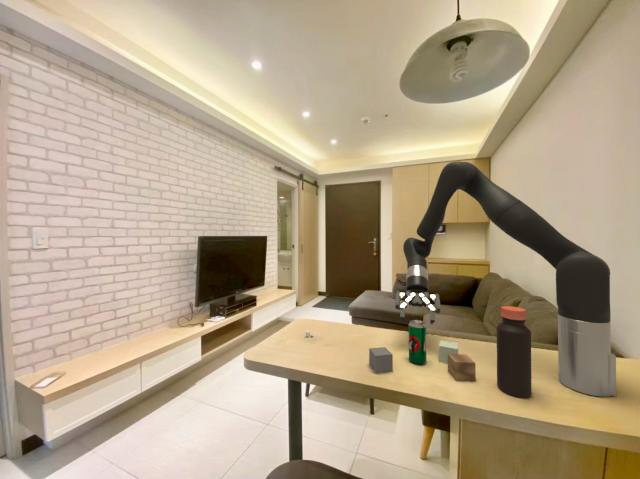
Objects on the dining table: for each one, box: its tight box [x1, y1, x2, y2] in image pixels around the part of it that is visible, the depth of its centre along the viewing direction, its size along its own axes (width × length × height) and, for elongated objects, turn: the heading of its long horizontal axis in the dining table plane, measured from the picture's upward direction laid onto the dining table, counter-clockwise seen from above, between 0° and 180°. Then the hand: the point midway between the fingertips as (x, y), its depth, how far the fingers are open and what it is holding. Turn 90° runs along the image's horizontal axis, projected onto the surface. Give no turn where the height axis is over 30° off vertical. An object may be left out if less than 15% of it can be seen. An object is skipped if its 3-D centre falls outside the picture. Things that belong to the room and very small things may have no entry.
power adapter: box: [304, 328, 314, 338], centre depth 99 cm, size 3×3×3 cm
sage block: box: [438, 339, 459, 365], centre depth 79 cm, size 5×5×5 cm
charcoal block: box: [368, 346, 394, 374], centre depth 74 cm, size 5×5×5 cm
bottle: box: [496, 305, 533, 399], centre depth 63 cm, size 7×7×20 cm
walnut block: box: [447, 353, 477, 383], centre depth 70 cm, size 5×5×5 cm
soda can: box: [408, 319, 427, 366], centre depth 78 cm, size 5×5×12 cm
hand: (417, 321), depth 83 cm, fingers open, 8 cm apart
